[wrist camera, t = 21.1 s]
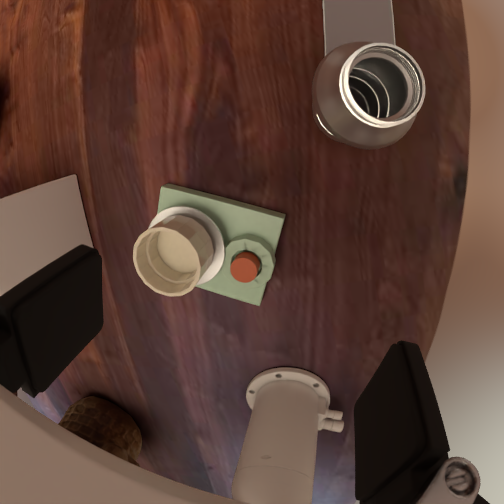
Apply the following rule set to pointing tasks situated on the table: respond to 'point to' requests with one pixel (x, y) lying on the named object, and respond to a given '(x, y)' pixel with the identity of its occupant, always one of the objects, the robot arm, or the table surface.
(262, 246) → the scale
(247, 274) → the button
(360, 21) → the smartphone
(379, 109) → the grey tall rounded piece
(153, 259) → the bowl
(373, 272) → the table surface
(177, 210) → the scale plate
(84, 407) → the ceramic vessel
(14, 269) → the cardboard gift box
